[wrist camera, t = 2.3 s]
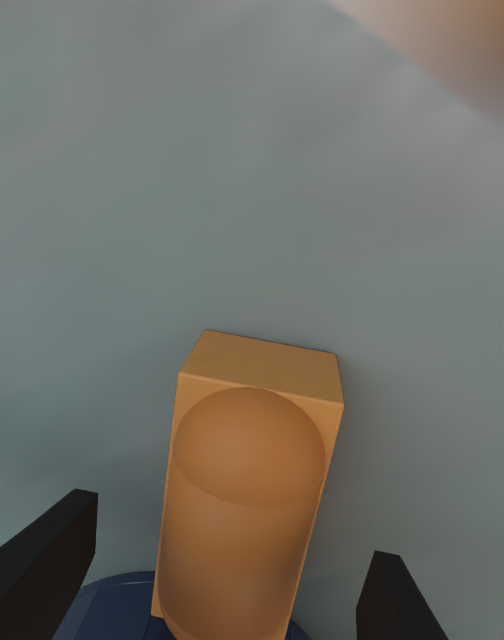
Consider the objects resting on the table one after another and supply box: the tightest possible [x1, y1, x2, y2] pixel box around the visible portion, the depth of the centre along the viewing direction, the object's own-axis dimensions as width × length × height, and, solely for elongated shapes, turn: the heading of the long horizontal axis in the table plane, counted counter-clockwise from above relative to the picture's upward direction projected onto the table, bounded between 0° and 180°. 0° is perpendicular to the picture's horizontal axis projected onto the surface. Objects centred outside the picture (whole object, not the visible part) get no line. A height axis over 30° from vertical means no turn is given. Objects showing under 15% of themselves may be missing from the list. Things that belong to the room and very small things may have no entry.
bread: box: [151, 330, 345, 640], centre depth 13 cm, size 8×4×5 cm, turn 171°
